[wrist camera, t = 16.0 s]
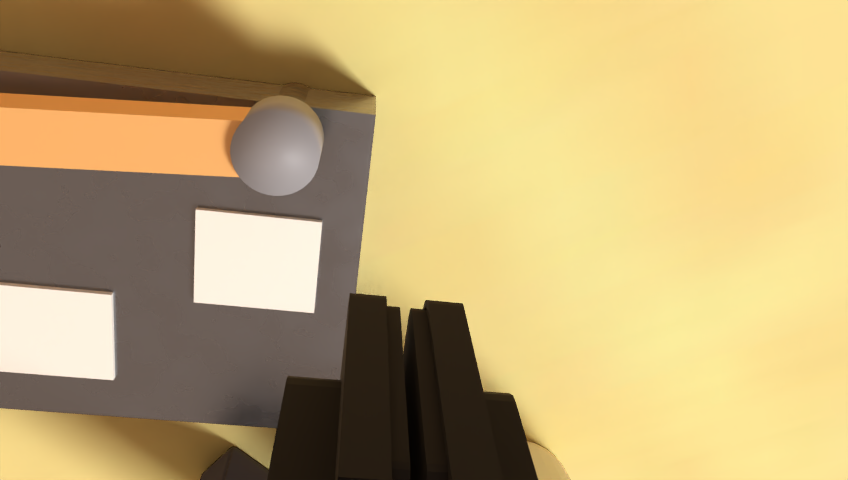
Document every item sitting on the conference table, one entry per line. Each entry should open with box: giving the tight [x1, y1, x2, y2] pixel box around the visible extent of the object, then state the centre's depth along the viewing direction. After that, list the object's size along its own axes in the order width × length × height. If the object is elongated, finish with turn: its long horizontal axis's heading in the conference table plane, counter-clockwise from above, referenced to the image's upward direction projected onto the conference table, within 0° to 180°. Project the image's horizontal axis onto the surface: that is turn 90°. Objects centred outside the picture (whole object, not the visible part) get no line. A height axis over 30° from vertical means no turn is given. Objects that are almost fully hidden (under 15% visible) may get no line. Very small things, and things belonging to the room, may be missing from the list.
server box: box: [0, 51, 376, 428], centre depth 38 cm, size 22×18×6 cm
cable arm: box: [0, 93, 324, 196], centre depth 31 cm, size 20×4×3 cm, turn 86°
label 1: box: [0, 282, 115, 380], centre depth 38 cm, size 6×5×1 cm
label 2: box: [194, 207, 322, 313], centre depth 37 cm, size 6×5×1 cm
